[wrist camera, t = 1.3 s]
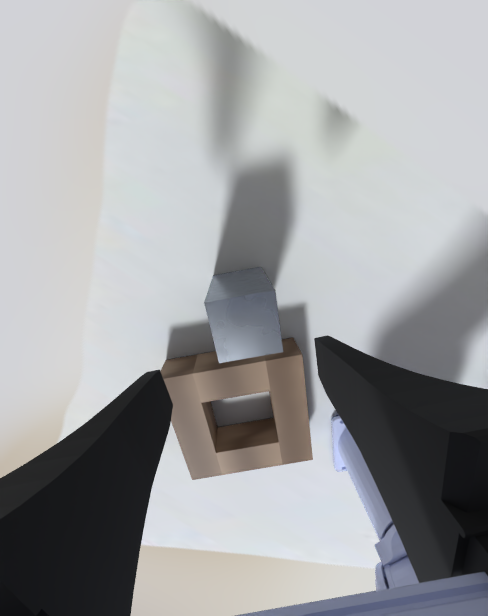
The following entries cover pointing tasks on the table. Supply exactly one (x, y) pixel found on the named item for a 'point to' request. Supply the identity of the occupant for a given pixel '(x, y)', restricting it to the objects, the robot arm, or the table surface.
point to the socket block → (245, 436)
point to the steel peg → (243, 315)
